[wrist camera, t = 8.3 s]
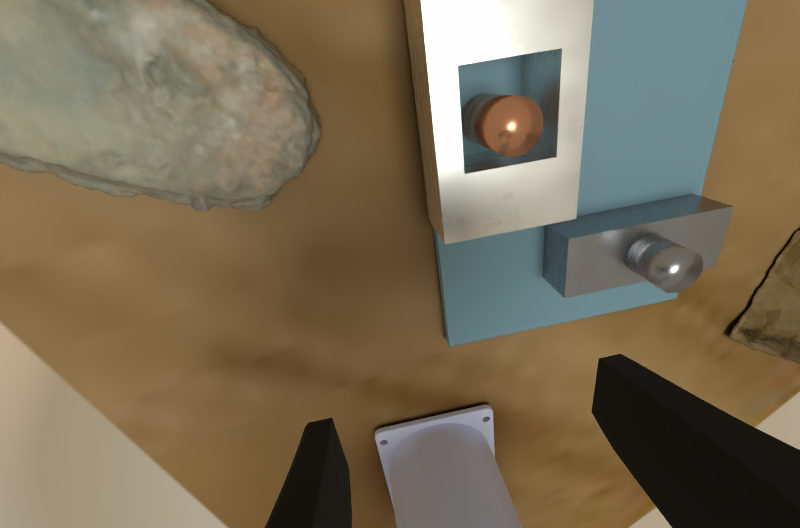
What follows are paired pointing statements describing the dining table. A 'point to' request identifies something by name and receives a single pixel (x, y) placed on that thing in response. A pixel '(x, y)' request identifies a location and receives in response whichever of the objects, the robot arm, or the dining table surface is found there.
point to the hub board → (601, 156)
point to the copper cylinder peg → (502, 123)
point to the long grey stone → (151, 101)
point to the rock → (775, 309)
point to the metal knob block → (636, 246)
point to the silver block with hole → (541, 81)
